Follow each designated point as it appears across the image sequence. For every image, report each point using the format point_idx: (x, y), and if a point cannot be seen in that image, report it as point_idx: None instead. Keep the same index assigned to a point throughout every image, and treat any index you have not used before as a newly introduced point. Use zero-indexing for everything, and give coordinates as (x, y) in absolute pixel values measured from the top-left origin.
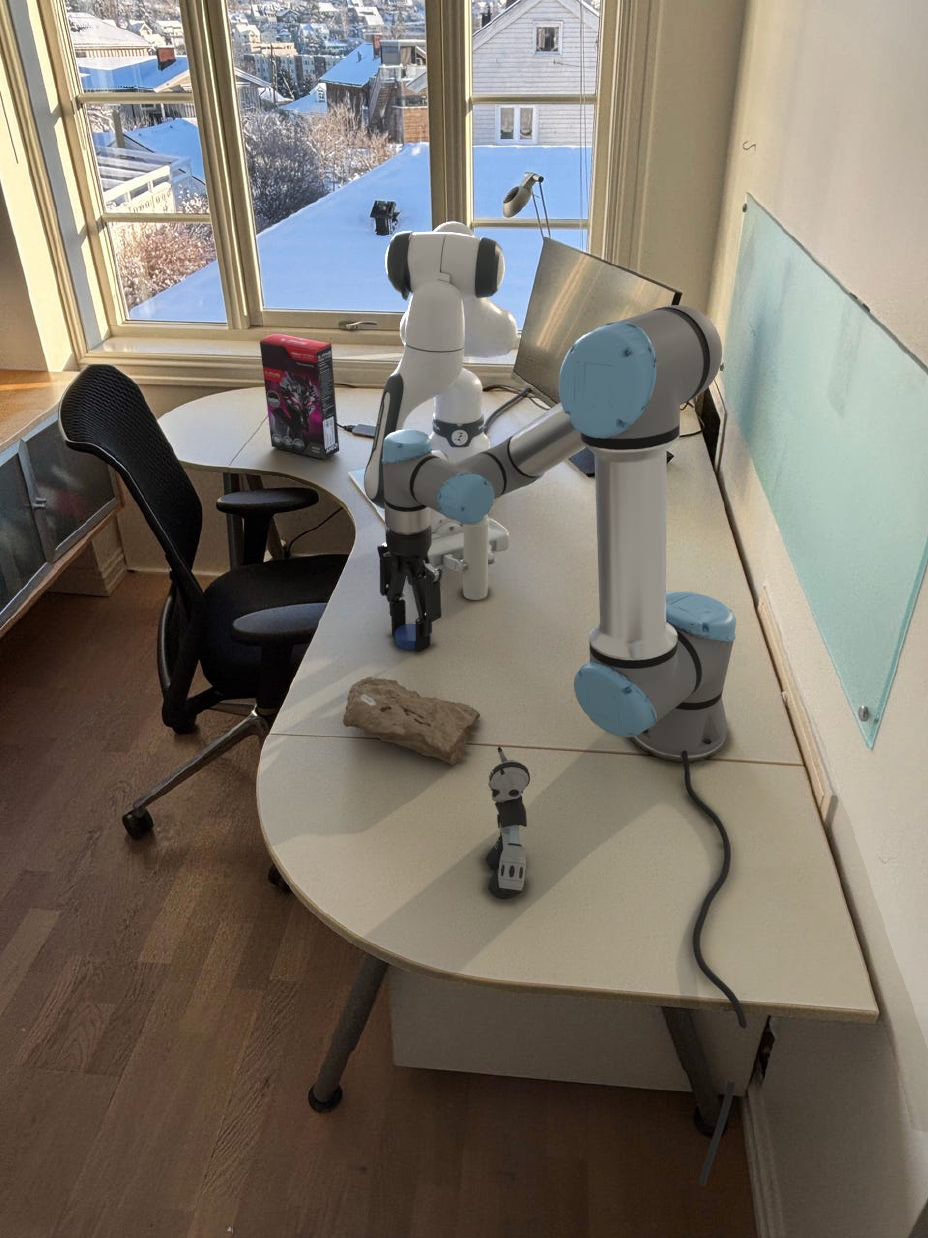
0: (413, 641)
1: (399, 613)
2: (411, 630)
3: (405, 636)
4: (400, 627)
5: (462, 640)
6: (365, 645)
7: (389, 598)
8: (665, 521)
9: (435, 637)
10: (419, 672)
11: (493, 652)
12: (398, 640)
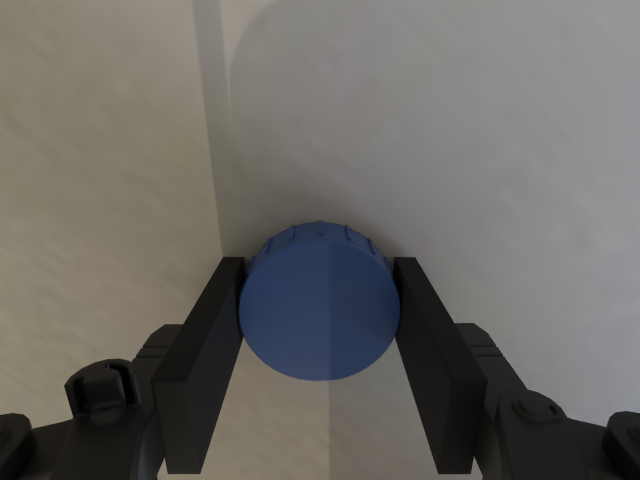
0: (249, 275)
1: (421, 365)
2: (327, 327)
3: (309, 274)
4: (390, 307)
5: None
6: (461, 106)
7: (534, 424)
8: None
9: (264, 372)
10: (83, 151)
11: None
12: (327, 234)
